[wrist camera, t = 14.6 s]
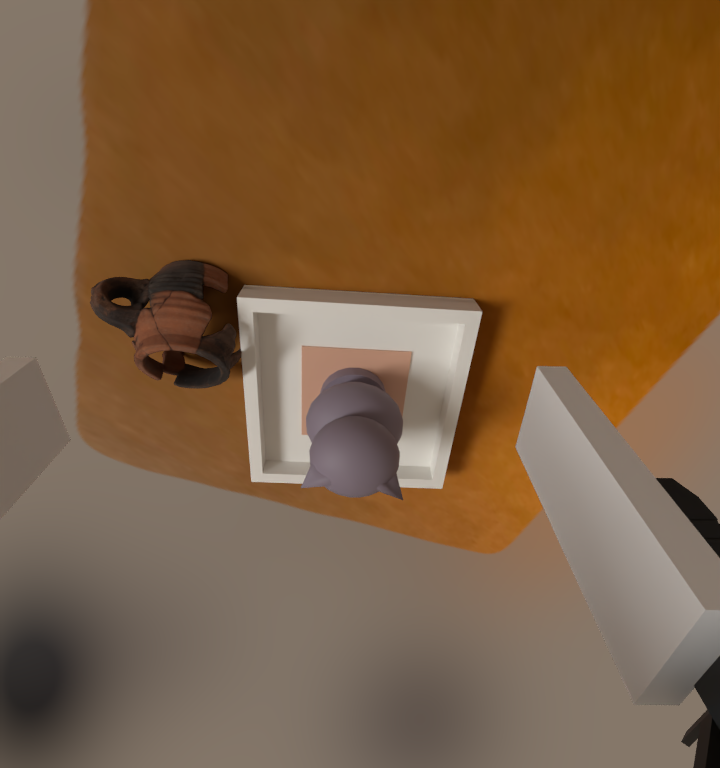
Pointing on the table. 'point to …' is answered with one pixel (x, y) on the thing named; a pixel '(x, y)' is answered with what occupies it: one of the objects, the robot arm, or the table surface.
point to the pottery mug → (171, 321)
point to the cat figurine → (354, 436)
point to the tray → (353, 350)
